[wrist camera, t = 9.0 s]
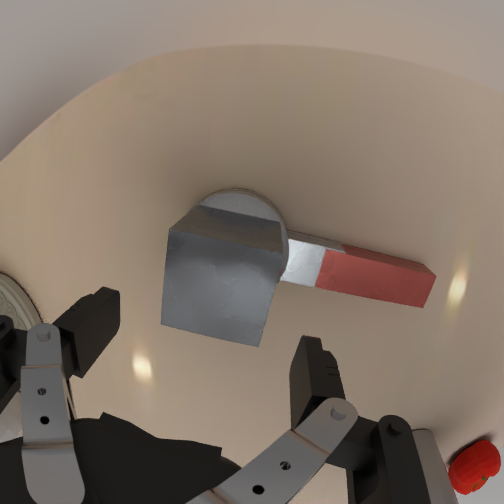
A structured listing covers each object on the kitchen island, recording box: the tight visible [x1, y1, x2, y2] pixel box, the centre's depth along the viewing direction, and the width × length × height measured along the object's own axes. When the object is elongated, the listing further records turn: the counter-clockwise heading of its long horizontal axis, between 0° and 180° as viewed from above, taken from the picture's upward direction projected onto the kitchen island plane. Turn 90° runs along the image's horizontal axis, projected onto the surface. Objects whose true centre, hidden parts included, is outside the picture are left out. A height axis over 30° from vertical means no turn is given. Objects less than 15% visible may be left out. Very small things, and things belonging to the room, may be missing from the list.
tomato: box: [448, 440, 501, 495], centre depth 31 cm, size 11×12×9 cm
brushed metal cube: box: [161, 205, 284, 347], centre depth 18 cm, size 6×6×6 cm
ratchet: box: [191, 188, 436, 308], centre depth 20 cm, size 20×8×7 cm, turn 78°
